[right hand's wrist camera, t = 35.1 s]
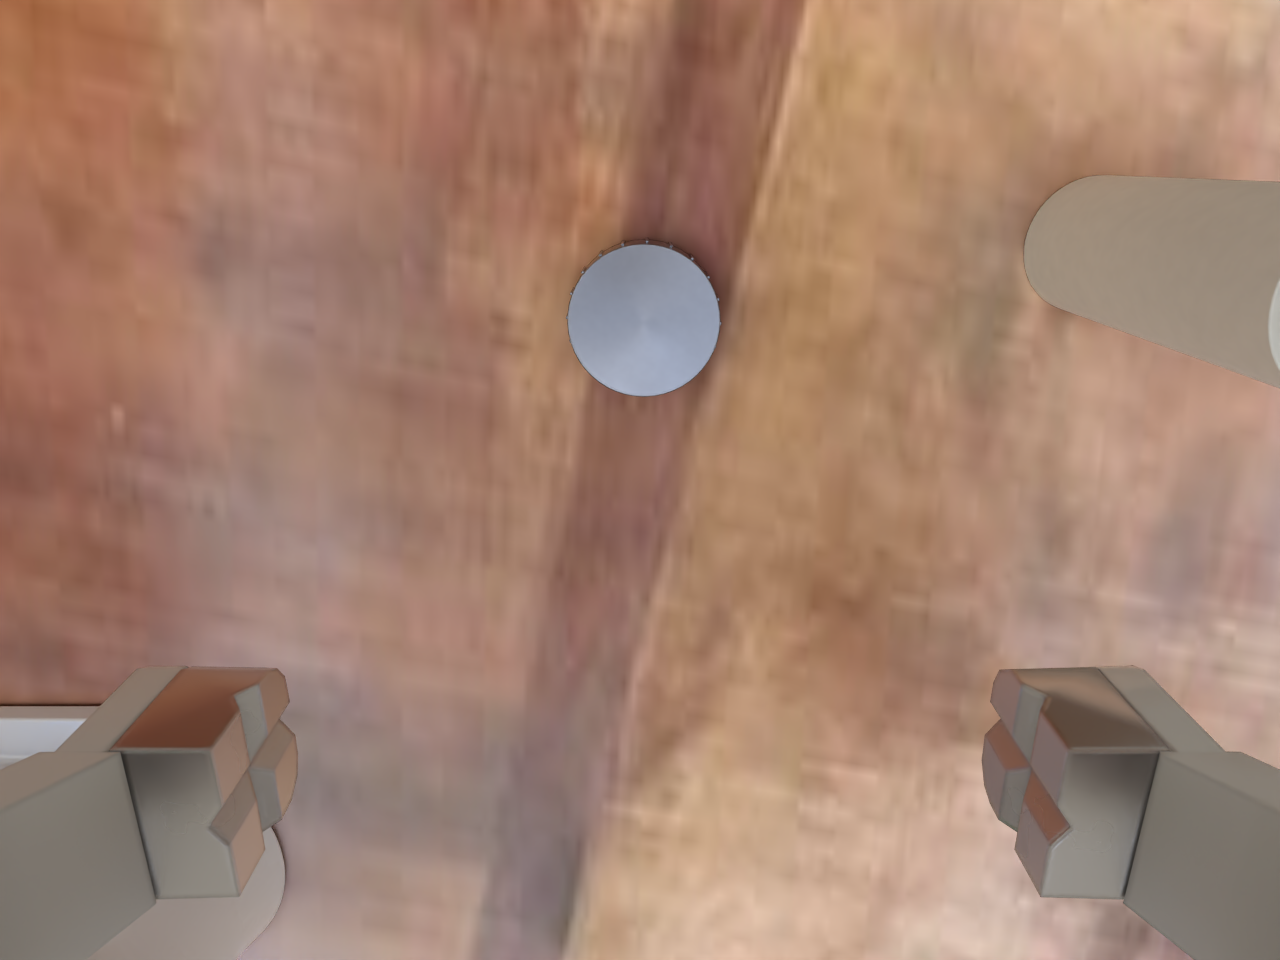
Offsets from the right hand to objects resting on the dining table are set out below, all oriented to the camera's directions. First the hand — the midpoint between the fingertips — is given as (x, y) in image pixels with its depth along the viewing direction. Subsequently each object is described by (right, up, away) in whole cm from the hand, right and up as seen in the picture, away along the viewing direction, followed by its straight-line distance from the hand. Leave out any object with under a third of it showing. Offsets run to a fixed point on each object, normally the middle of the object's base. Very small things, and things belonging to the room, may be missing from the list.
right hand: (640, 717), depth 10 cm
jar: (+18, +12, +25) cm, 33 cm away
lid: (0, +9, +25) cm, 26 cm away
